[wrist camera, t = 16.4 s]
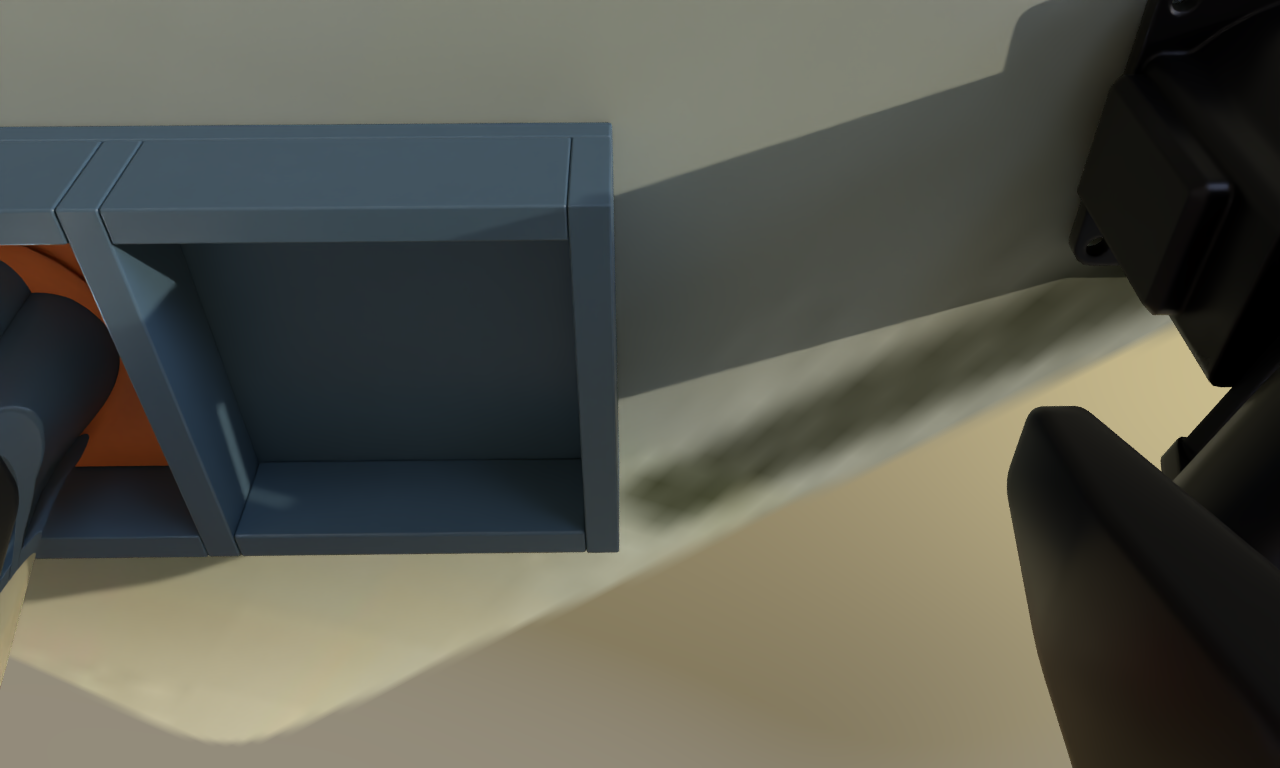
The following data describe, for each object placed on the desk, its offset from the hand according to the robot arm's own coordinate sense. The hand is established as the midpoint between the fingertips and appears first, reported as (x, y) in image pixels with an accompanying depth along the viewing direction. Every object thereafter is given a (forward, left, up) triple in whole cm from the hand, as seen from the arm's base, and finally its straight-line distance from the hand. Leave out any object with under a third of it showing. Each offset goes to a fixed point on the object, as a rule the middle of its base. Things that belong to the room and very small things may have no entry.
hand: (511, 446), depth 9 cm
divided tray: (+9, +9, -13) cm, 18 cm away
